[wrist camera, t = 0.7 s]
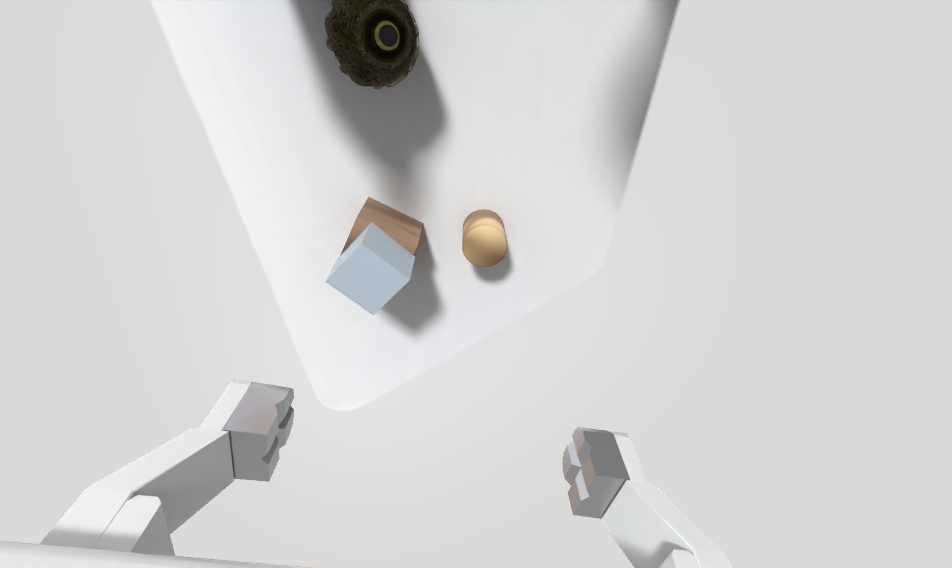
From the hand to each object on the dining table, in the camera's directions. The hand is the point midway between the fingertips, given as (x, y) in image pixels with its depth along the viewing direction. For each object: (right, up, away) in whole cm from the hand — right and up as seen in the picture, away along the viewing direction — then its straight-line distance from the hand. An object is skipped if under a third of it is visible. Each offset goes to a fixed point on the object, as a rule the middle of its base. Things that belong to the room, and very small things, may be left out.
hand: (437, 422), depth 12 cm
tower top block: (-10, +7, +35) cm, 37 cm away
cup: (-7, +28, +29) cm, 41 cm away
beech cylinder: (+2, +11, +39) cm, 41 cm away
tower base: (-10, +10, +40) cm, 42 cm away
